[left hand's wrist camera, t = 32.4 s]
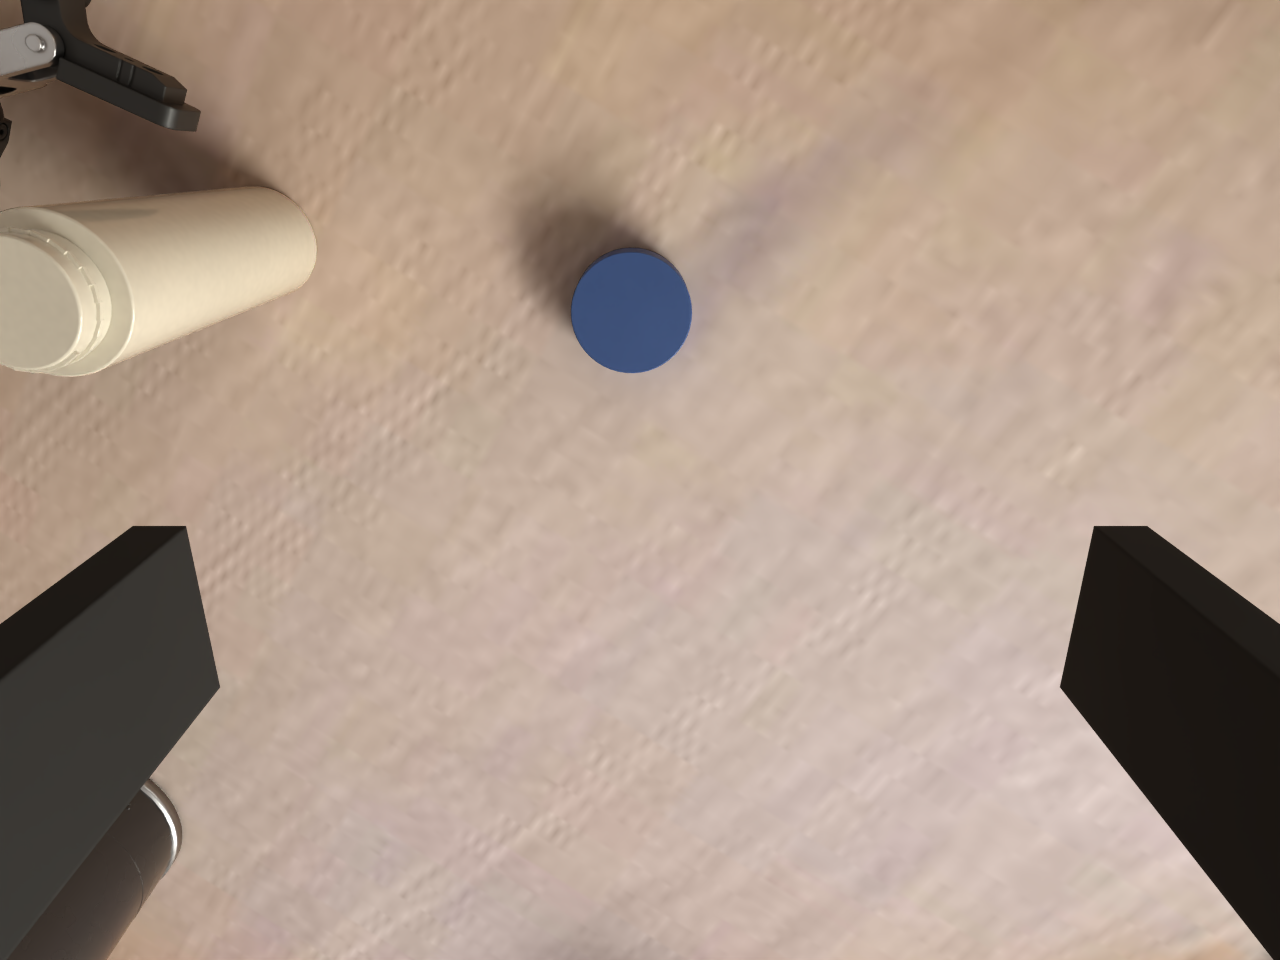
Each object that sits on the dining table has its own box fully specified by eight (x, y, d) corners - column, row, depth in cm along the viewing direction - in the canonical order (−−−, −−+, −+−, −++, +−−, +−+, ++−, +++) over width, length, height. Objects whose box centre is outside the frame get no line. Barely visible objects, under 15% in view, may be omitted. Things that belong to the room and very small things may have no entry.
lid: (613, 384, 39) (612, 394, 37) (551, 287, 37) (547, 293, 36) (710, 326, 38) (714, 333, 36) (651, 224, 36) (652, 227, 35)
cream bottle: (185, 229, 36) (-121, 282, 22) (263, 163, 35) (-2, 171, 21) (262, 317, 38) (22, 423, 23) (339, 256, 37) (140, 325, 22)
